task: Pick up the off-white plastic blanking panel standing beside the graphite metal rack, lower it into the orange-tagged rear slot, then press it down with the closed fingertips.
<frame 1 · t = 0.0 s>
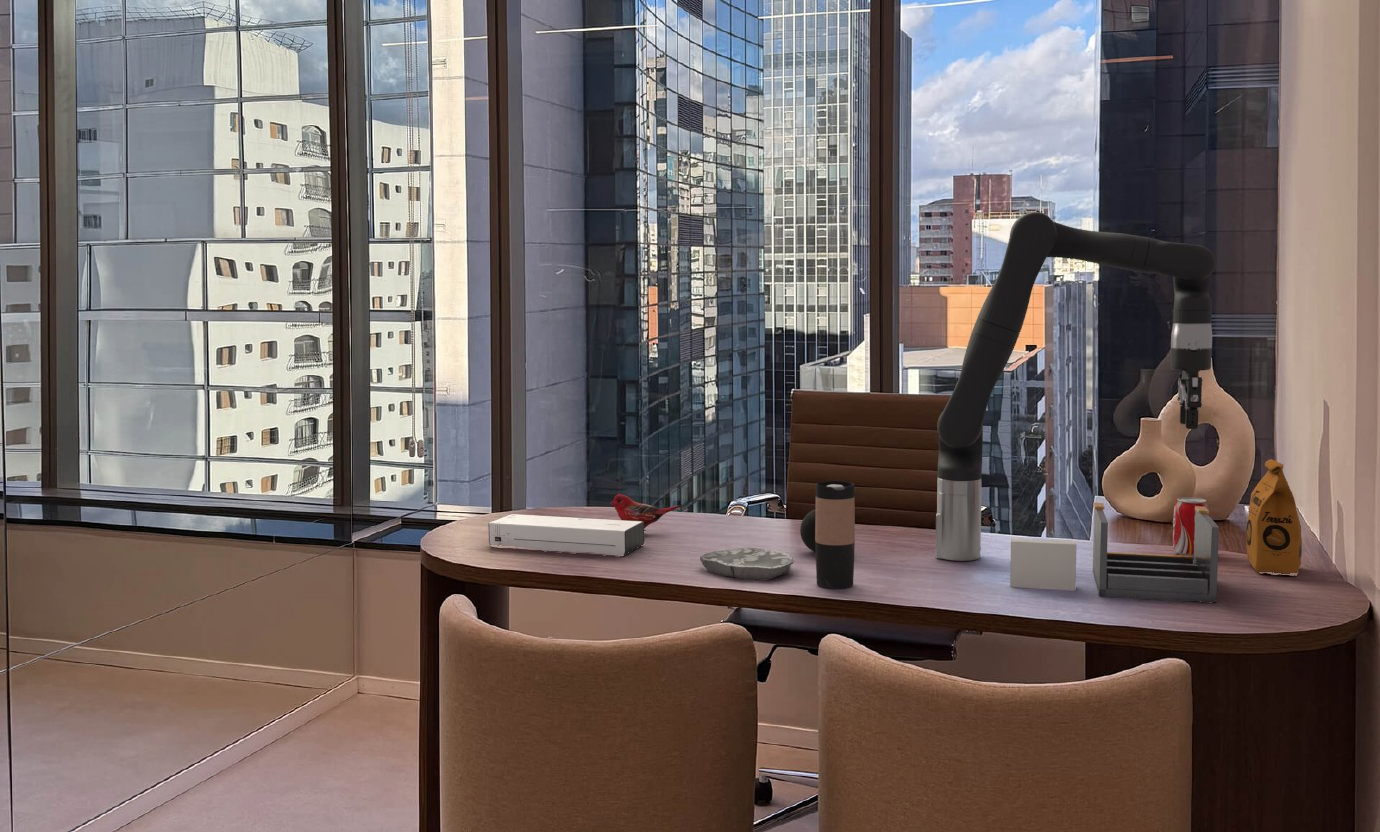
hand: (1188, 426, 226), 29 cm above the table, tool pointing down, fingers open, 8 cm apart
brain slice: (750, 572, 233), on the table
soda can: (1190, 555, 242), on the table
panel: (1042, 587, 216), on the table
rack: (1150, 586, 215), on the table
decorative bird figurine: (646, 534, 271), on the table
laminator: (565, 549, 256), on the table
speaker: (822, 553, 247), on the table
travel mug: (834, 585, 220), on the table
coffee package: (1272, 570, 227), on the table
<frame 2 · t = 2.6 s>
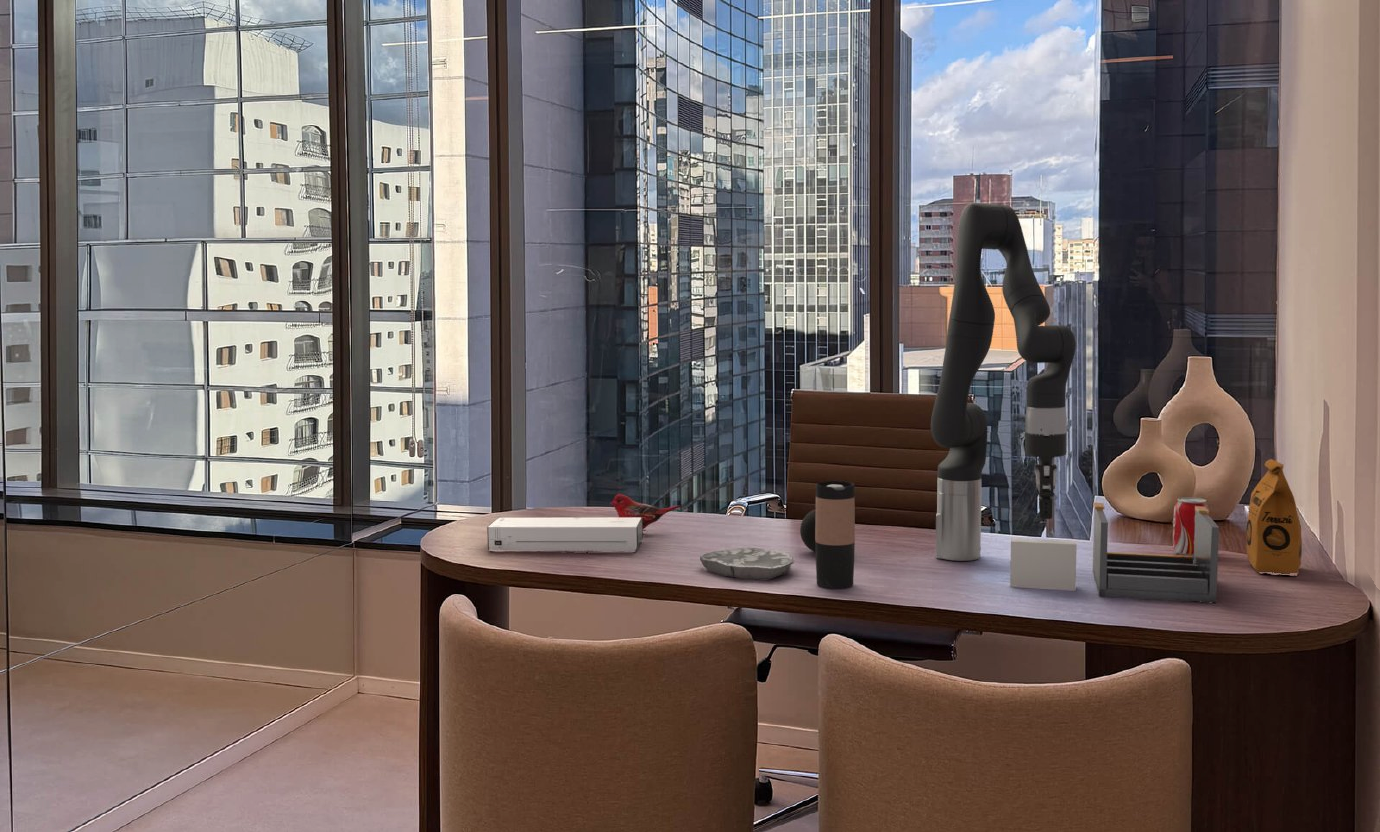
hand: (1045, 514, 215), 14 cm above the table, tool pointing down, fingers open, 8 cm apart
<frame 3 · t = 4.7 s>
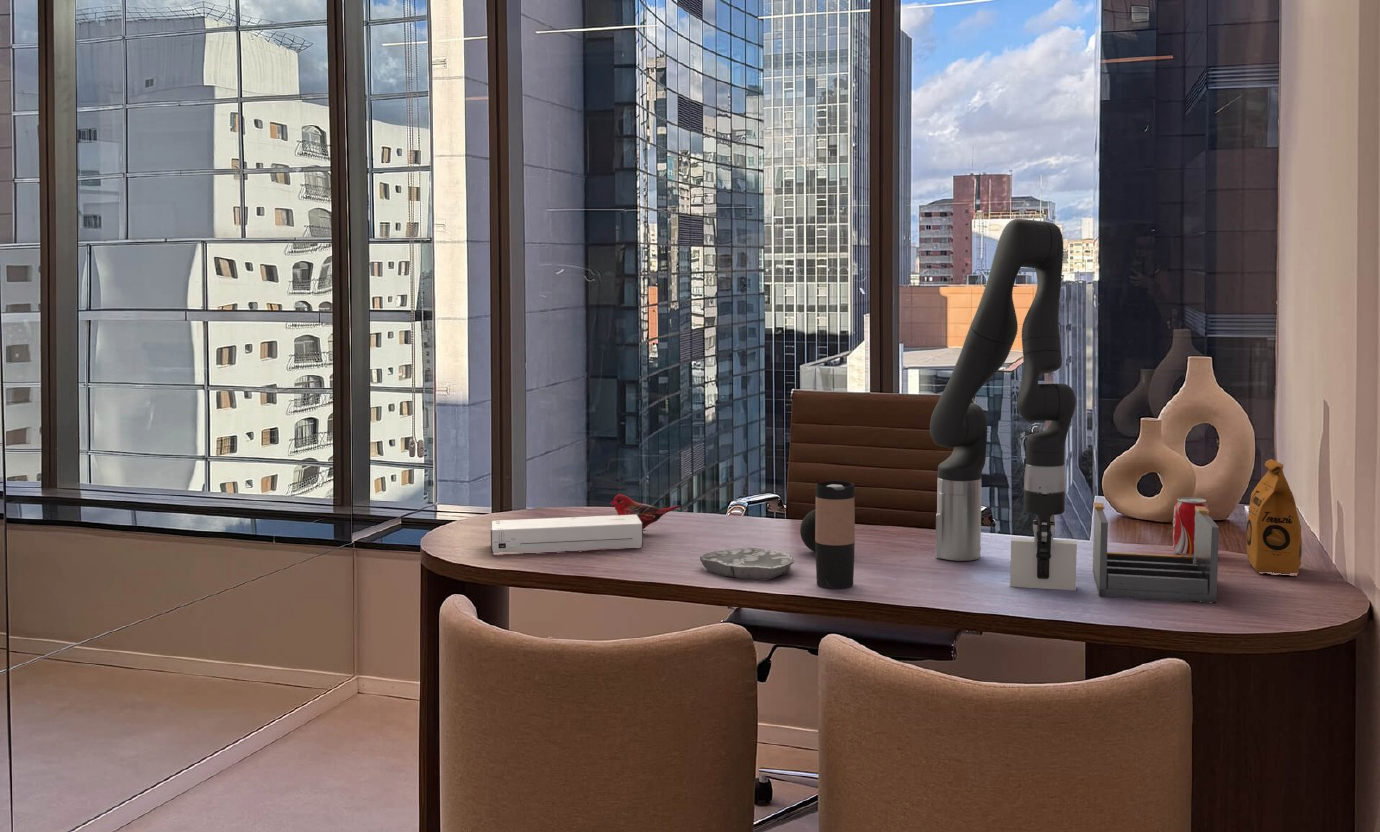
hand: (1042, 575, 216), 2 cm above the table, tool pointing down, fingers closed on panel, 3 cm apart
panel: (1042, 586, 216), on the table, touching gripper
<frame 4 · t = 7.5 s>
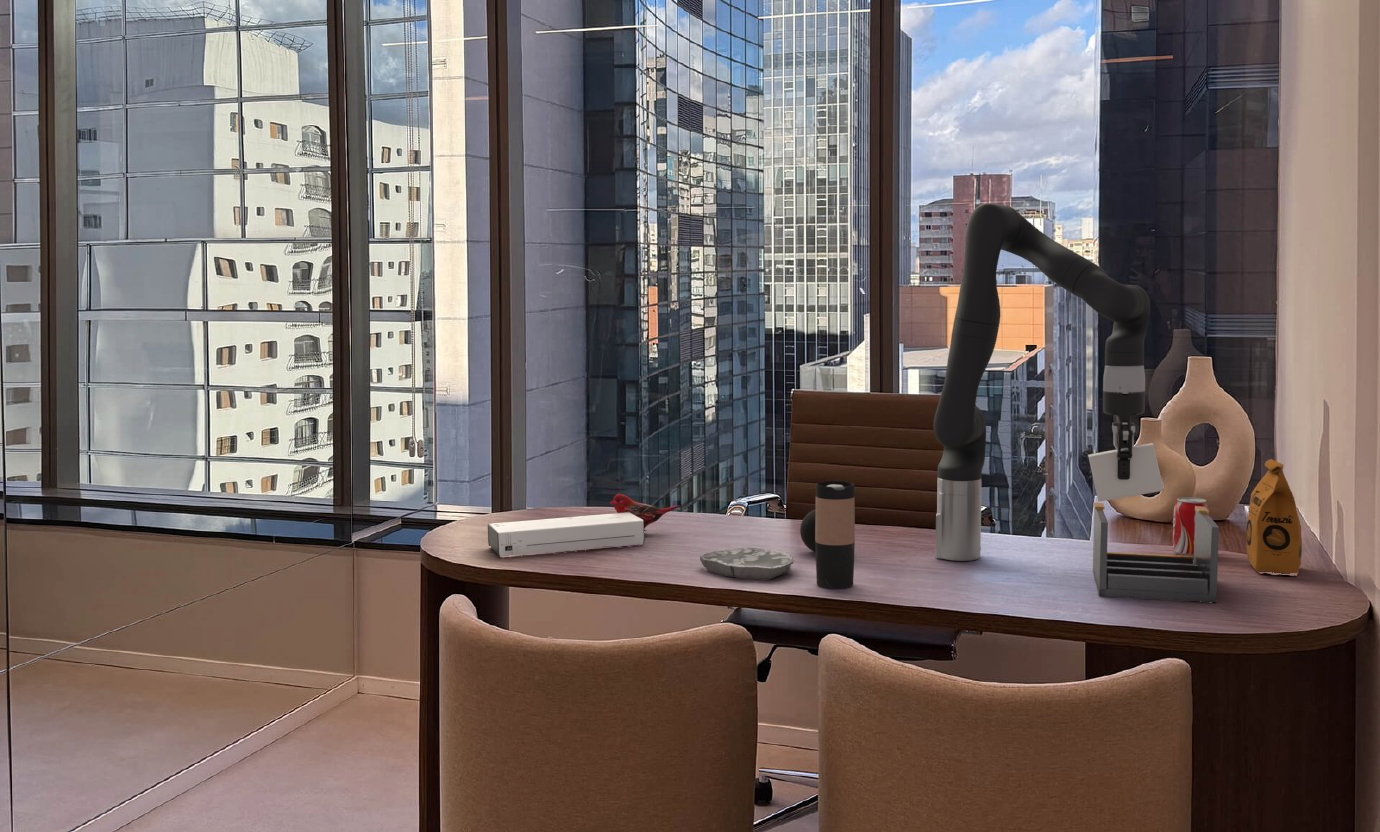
hand: (1123, 477, 217), 21 cm above the table, tool pointing down, fingers closed on panel, 3 cm apart
panel: (1130, 494, 217), point 17 cm above the table, tilted 13°, touching gripper
when the fingers open (5 cm above the table, at t = 10.4 s): panel stays where it is, resting on rack.
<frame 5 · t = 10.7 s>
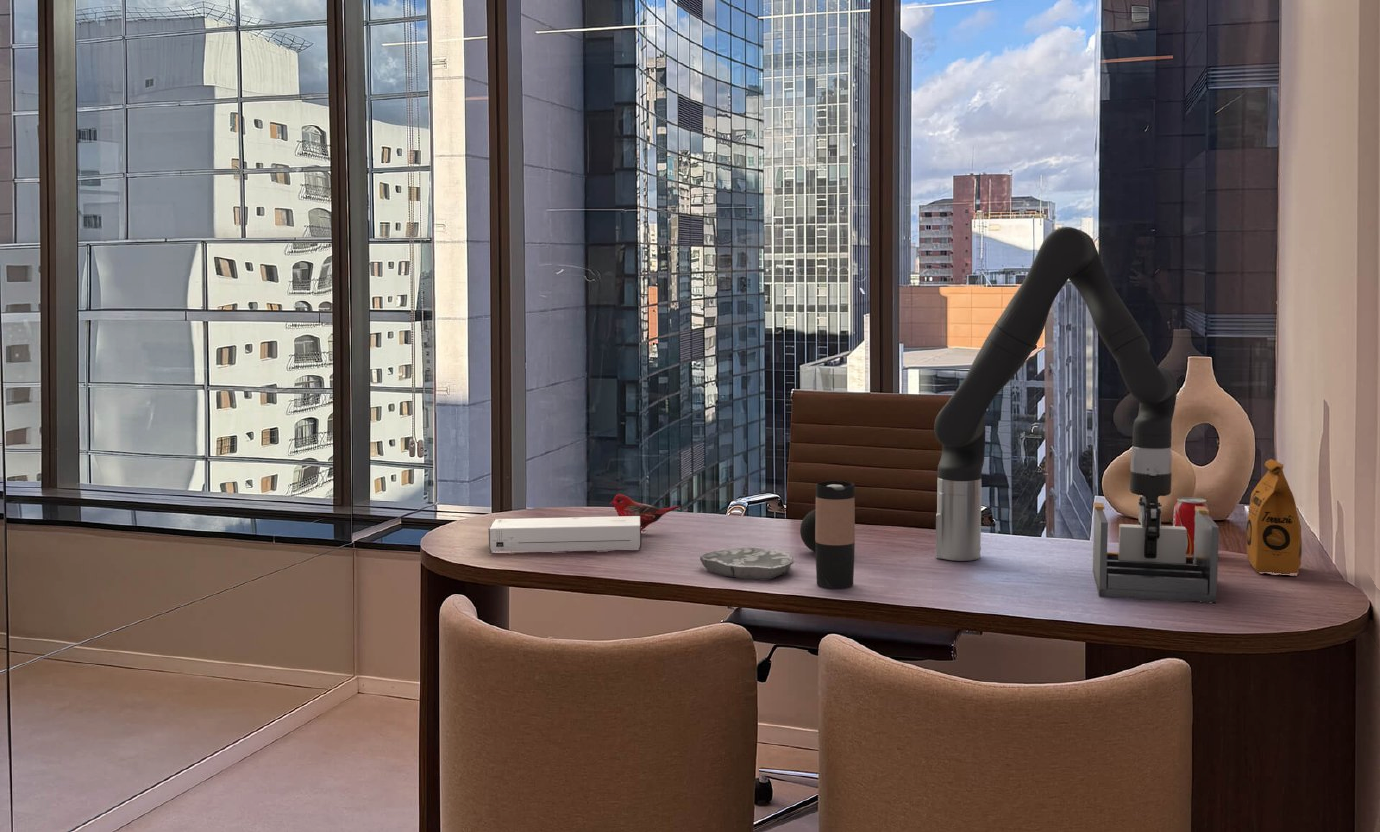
hand: (1148, 554, 221), 5 cm above the table, tool pointing down, fingers open, 5 cm apart
panel: (1151, 571, 221), point 1 cm above the table, touching rack
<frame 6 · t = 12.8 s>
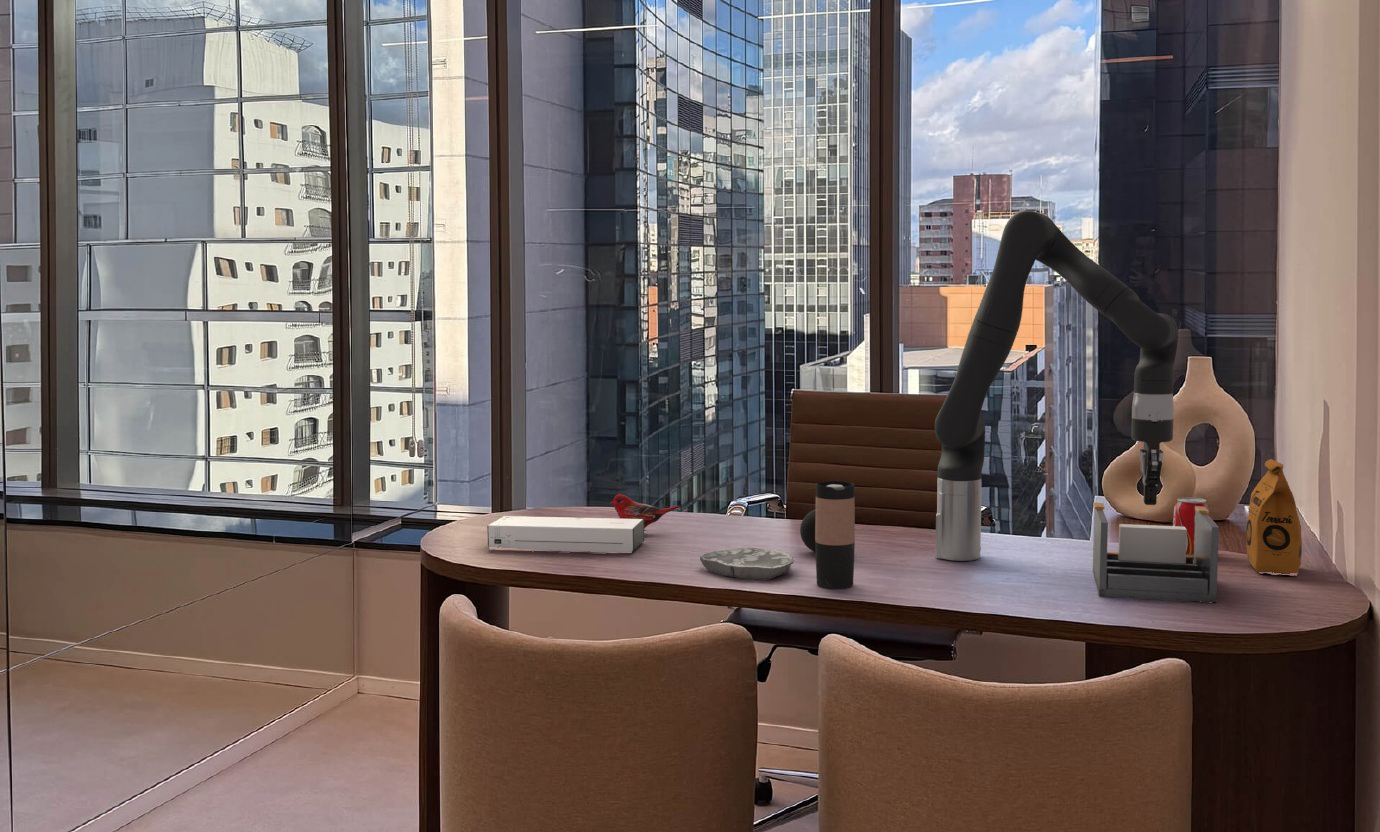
hand: (1149, 504, 220), 15 cm above the table, tool pointing down, fingers closed
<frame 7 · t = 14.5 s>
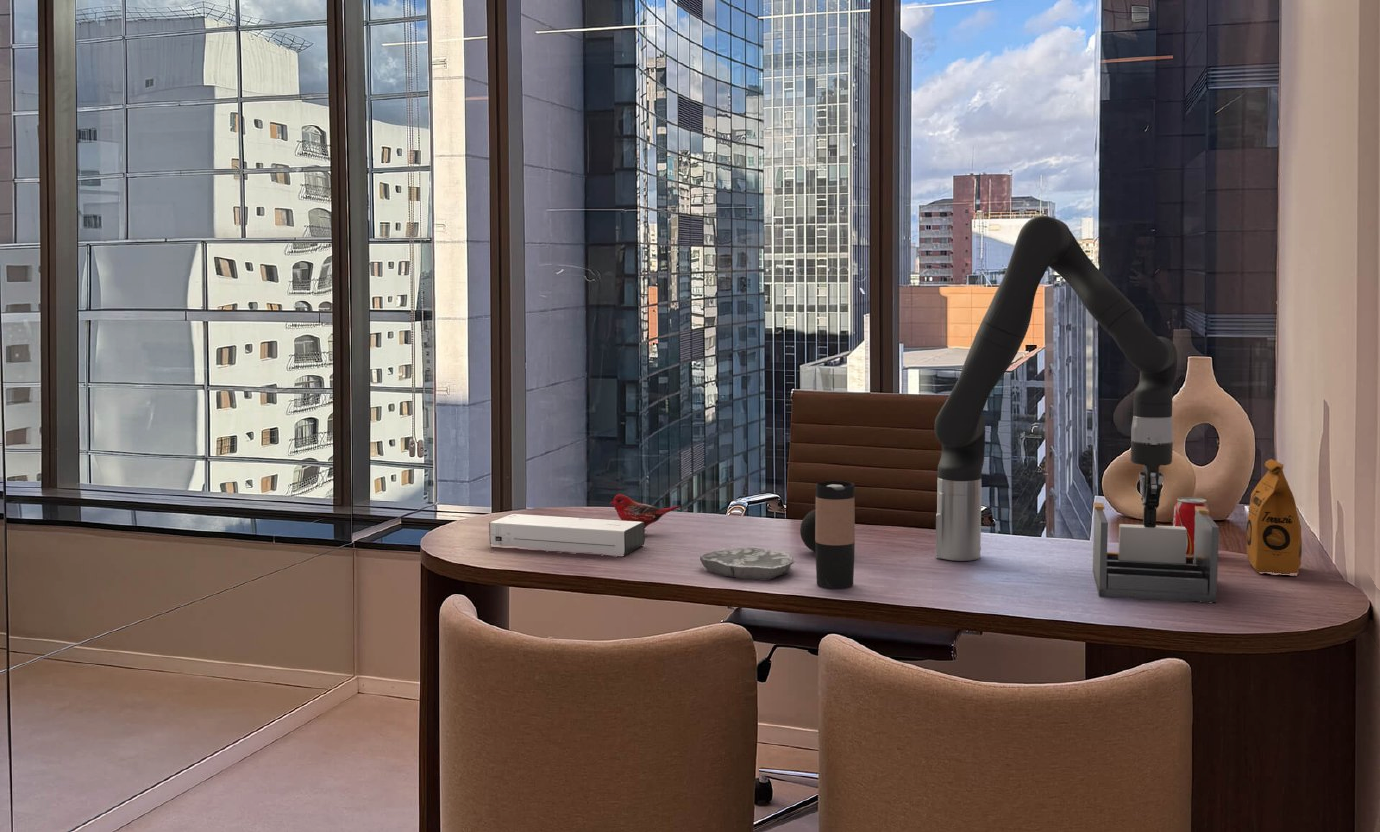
hand: (1149, 526, 220), 10 cm above the table, tool pointing down, fingers closed
panel: (1151, 571, 221), point 1 cm above the table, touching gripper, rack
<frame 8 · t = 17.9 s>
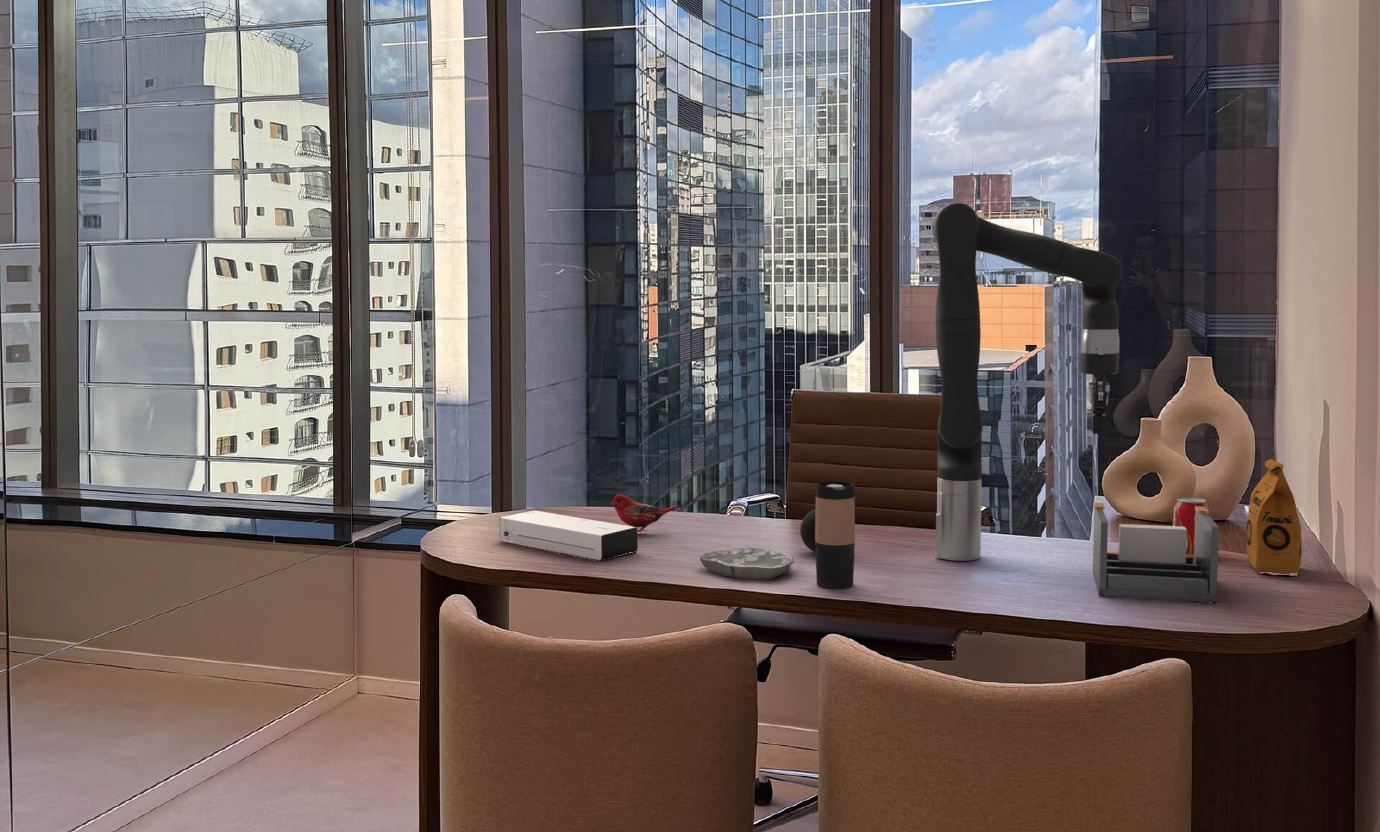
hand: (1097, 433, 235), 27 cm above the table, tool pointing down, fingers closed
panel: (1151, 571, 221), point 1 cm above the table, touching rack
at the end: panel 0.6 cm from the target spot on the rack, point 1.5 cm above the rack's base; panel tilted 0°; the gripper is holding nothing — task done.
